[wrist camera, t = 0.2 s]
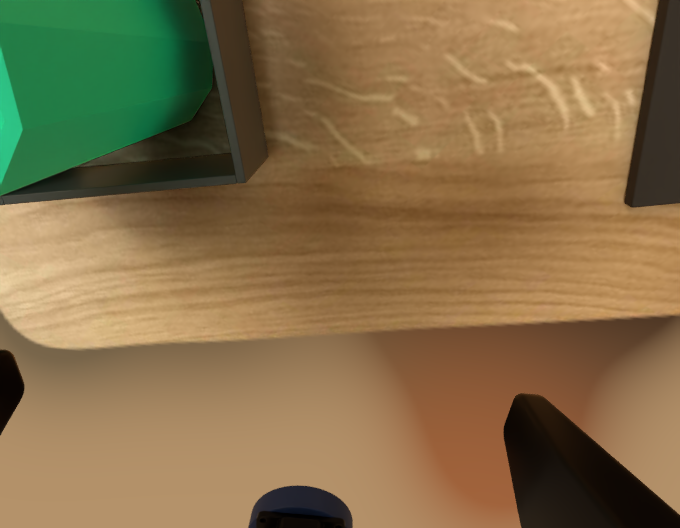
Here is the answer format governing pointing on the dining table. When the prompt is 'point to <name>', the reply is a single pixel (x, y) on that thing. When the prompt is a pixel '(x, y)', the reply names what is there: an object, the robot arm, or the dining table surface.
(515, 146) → the dining table surface
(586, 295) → the dining table surface
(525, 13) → the dining table surface
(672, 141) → the mat
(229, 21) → the dark grey square tray
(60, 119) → the candle
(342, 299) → the dining table surface
